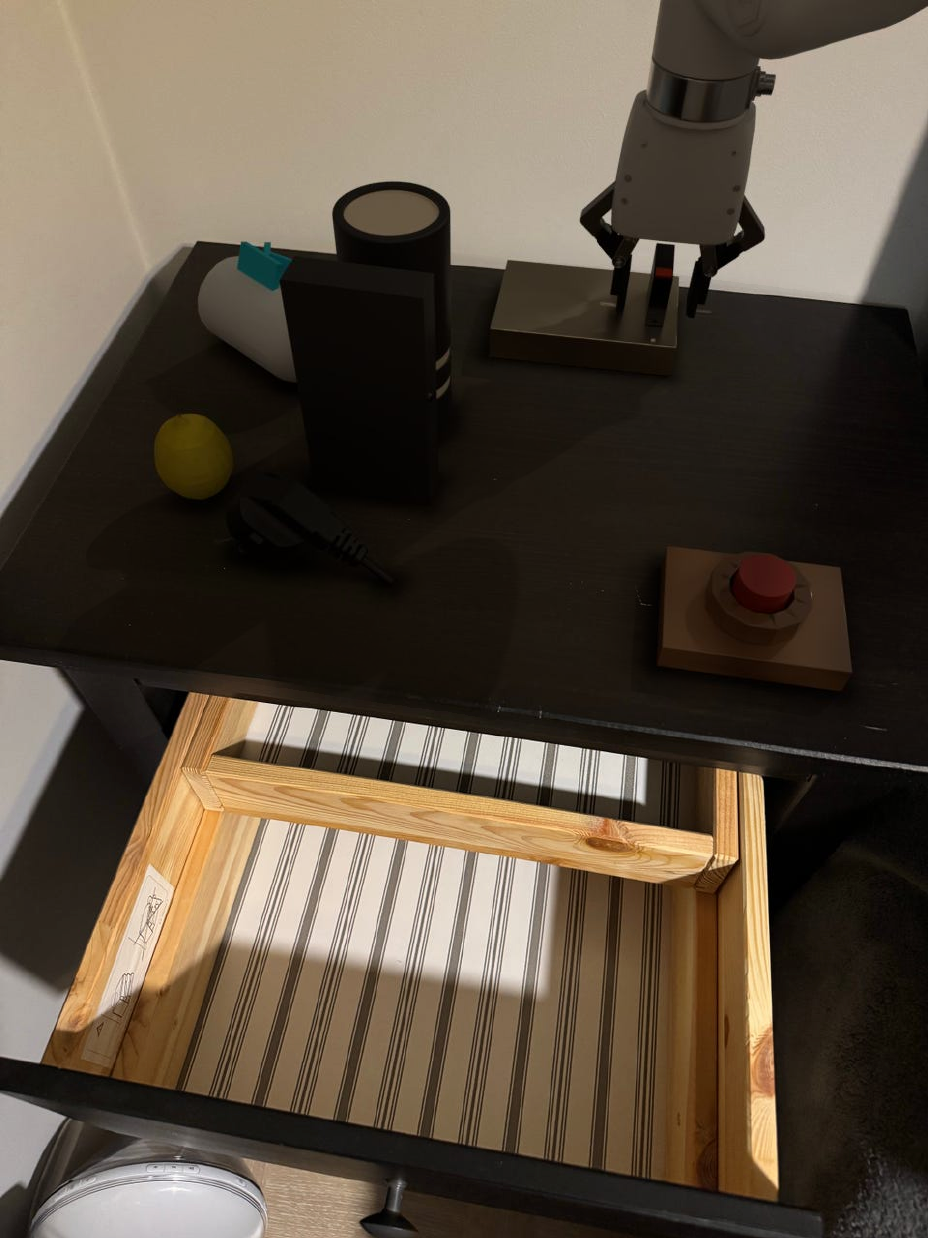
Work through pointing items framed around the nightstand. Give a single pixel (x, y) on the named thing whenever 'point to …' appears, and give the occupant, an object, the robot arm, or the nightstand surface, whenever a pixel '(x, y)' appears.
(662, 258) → the black boxy piece
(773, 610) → the button
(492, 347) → the panel
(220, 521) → the nightstand surface
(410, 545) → the nightstand surface
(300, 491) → the power plug
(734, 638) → the red push button box
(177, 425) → the fruit
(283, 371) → the mug
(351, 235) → the light fixture
